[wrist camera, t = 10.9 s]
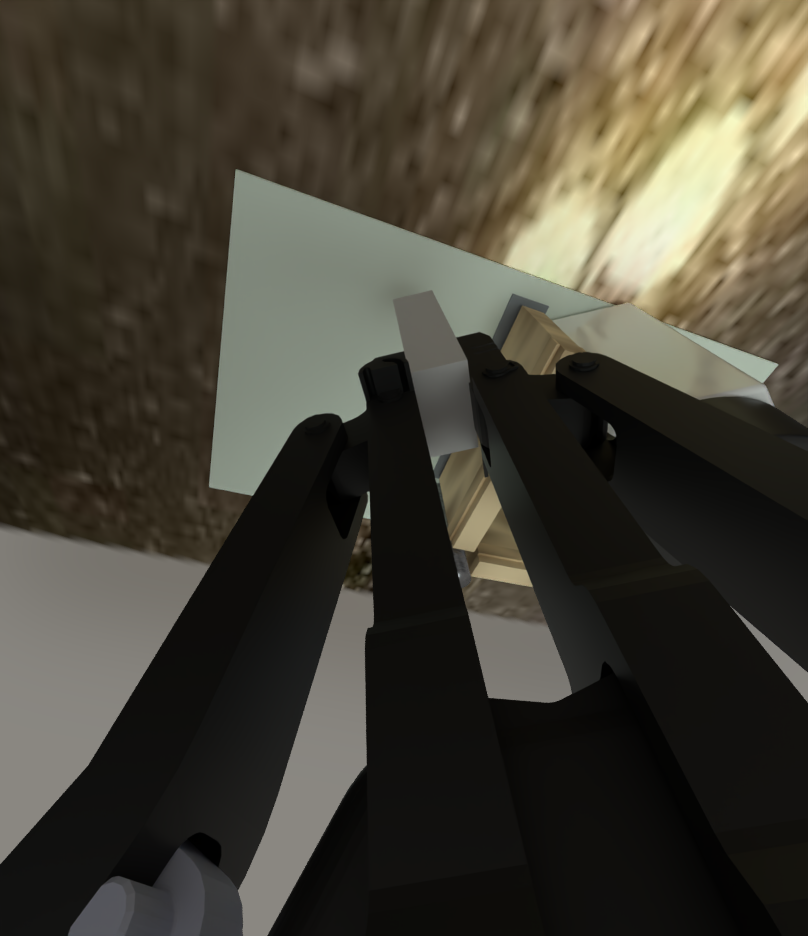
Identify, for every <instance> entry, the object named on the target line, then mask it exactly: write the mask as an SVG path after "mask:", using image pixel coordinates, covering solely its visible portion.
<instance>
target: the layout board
mask: <svg viewBox="0 0 808 936" xmlns="http://www.w3.org/2000/svg"><path fill="white" fill-rule="evenodd" d="M430 290H432V291H433V293H434V295H435V297H436V299H437V301H438V303H439V305H440V307H441V309H442V311H443V313H444V315H445V317H446V319H447V321H448V323H449V325H450V327H451V329H452V331H453V332H454V334H455V336H456V337H460V336H464V335H469V334H473V333H477V332H481V333H484V334H486V335H489V336H490V337H491V338H492V340H493V341H494V343H495V344H496V346H497V347H498V349H499V350H500V351H501V349H502V347H503V345H504V343H505V341H506V339H507V336H508V334H509V332H510V330H511V328H512V326H513V324H514V322H515V320H516V318H517V316H518V314H519V311H520V309H521V307H522V305H523V306H526V307H528V308H531V309H534V310H537V311H540V312H542V313H544V314H545V315H547V316H548V317H549V318H550V319H551V320H556V319H560V318H564V317H569V316H573V315H577V314H581V313H586V312H590V311H594V310H599V309H603V308H607V307H612V306H616V305H614V304H611V303H608V302H605V301H602V300H600V299H597V298H594V297H591V296H589V295H586V294H583V293H580V292H577V291H575V290H572V289H569V288H566V287H564V286H561V285H558V284H555V283H552V282H550V281H547V280H544V279H541V278H539V277H536V276H533V275H530V274H527V273H525V272H522V271H519V270H516V269H514V268H511V267H508V266H505V265H502V264H500V263H497V262H494V261H491V260H489V259H486V258H483V257H480V256H477V255H475V254H472V253H469V252H466V251H464V250H461V249H458V248H455V247H452V246H450V245H447V244H444V243H441V242H439V241H436V240H433V239H430V238H427V237H425V236H422V235H419V234H416V233H414V232H411V231H408V230H405V229H402V228H400V227H397V226H394V225H391V224H388V223H386V222H383V221H380V220H377V219H375V218H372V217H369V216H366V215H363V214H361V213H358V212H355V211H352V210H350V209H347V208H344V207H341V206H338V205H336V204H333V203H330V202H327V201H325V200H322V199H319V198H316V197H313V196H311V195H308V194H305V193H302V192H300V191H297V190H294V189H291V188H288V187H286V186H283V185H280V184H277V183H275V182H272V181H269V180H266V179H263V178H261V177H258V176H255V175H252V174H250V173H247V172H244V171H241V170H238V169H236V172H235V184H234V196H233V207H232V219H231V231H230V243H229V255H228V267H227V279H226V291H225V302H224V314H223V326H222V338H221V350H220V362H219V374H218V386H217V397H216V409H215V421H214V433H213V445H212V457H211V469H210V481H209V487H211V488H216V489H221V490H226V491H231V492H236V493H241V494H246V495H251V496H253V495H254V493H255V491H256V490H257V488H258V487H259V485H260V483H261V482H262V480H263V478H264V477H265V475H266V473H267V472H268V470H269V469H270V467H271V465H272V464H273V462H274V460H275V459H276V457H277V455H278V454H279V452H280V451H281V449H282V447H283V446H284V444H285V442H286V441H287V439H288V437H289V436H290V434H291V432H292V431H293V429H294V428H295V427H296V426H297V425H298V424H299V423H300V422H302V421H304V420H305V419H306V418H308V417H310V416H311V417H312V415H316V414H323V413H333V414H336V415H339V416H340V418H341V419H342V422H343V423H344V422H347V421H349V420H352V419H354V418H356V417H358V416H359V415H361V414H362V413H364V412H365V411H366V399H365V396H364V393H363V389H362V386H361V383H360V379H359V376H358V372H359V370H360V368H361V367H363V366H364V365H365V364H367V363H369V362H371V361H373V360H374V358H377V357H381V356H385V355H389V354H394V353H398V352H402V351H404V349H403V344H402V340H401V335H400V331H399V326H398V321H397V317H396V312H395V308H394V303H393V299H397V298H401V297H405V296H409V295H413V294H417V293H421V292H425V291H430ZM663 323H664V322H663ZM664 324H666V323H664ZM666 325H668V326H669V327H671V328H672V329H674V330H676V331H677V332H679V333H681V334H682V335H684V336H686V337H687V338H689V339H691V340H692V341H694V342H695V343H697V344H699V345H700V346H702V347H704V348H705V349H707V350H709V351H710V352H712V353H714V354H715V355H717V356H718V357H720V358H722V359H723V360H725V361H727V362H728V363H730V364H732V365H733V366H735V367H737V368H738V369H740V370H741V371H743V372H745V373H746V374H748V375H750V376H751V377H753V378H755V379H756V380H758V381H760V382H761V383H763V382H764V381H765V380H766V379H767V377H768V376H769V375H770V374H771V373H772V372H773V370H774V369H775V368H776V367H777V366H778V364H777V363H775V362H772V361H769V360H766V359H764V358H761V357H758V356H755V355H753V354H750V353H747V352H744V351H741V350H739V349H736V348H733V347H730V346H728V345H725V344H722V343H719V342H716V341H714V340H711V339H708V338H705V337H703V336H700V335H697V334H694V333H691V332H689V331H686V330H683V329H680V328H678V327H675V326H672V325H669V324H666ZM450 455H451V453H450V454H445V455H441V456H436V457H432V458H431V462H432V466H433V470H434V474H435V479H436V483H440V481H439V478H440V476H441V474H442V472H443V470H444V468H445V466H446V463H447V461H448V459H449V457H450ZM367 494H368V503H367V506H366V509H365V513H364V516H363V518H368V519H370V492H367Z"/></svg>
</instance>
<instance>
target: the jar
mask: <svg viewBox="0 0 808 936" xmlns="http://www.w3.org/2000/svg"><path fill="white" fill-rule="evenodd" d="M552 321H553V322H554V323H555V324H556V325H557V326H558V327H559V328H560V329H561V330H562V331H563V332H564V333H565V334H566V335H567V336H568V337H570V338H571V339H572V340H573V341H574V342H575V343H576V344H577V345H578V346H579V347H582V348H583V349H584V350H585V351H586V352H590V353H599V354H602V355H606V356H608V357H610V358H612V359H615V360H617V361H619V362H621V363H623V364H625V365H627V366H629V367H631V368H633V369H636V370H638V371H640V372H642V373H644V374H646V375H648V376H650V377H652V378H655V379H657V380H659V381H661V382H663V383H665V384H667V385H669V386H671V387H673V388H676V389H678V390H680V391H682V392H684V393H686V394H688V395H690V396H692V397H695V398H697V399H699V400H701V401H703V402H705V403H707V404H709V405H711V406H713V407H716V408H718V409H720V410H722V411H724V412H726V413H728V414H730V415H732V416H735V417H737V418H739V419H741V420H743V421H745V422H747V423H749V424H751V425H753V426H756V427H758V428H760V429H762V430H764V431H766V432H768V433H770V434H772V435H775V436H777V437H779V438H781V439H783V440H785V441H787V442H789V443H791V444H793V445H796V446H798V447H800V448H802V449H804V450H806V451H808V428H806V427H805V426H803V425H802V424H800V423H799V422H797V421H796V420H794V419H793V418H791V417H789V416H788V415H786V414H785V413H783V412H782V411H780V410H779V409H777V408H775V406H774V404H773V401H772V399H771V396H770V394H769V392H768V389H767V387H766V386H765V385H764V384H763V383H761V382H760V381H758V380H756V379H755V378H753V377H751V376H750V375H748V374H746V373H745V372H743V371H741V370H740V369H738V368H737V367H735V366H733V365H732V364H730V363H728V362H727V361H725V360H723V359H722V358H720V357H718V356H717V355H715V354H714V353H712V352H710V351H709V350H707V349H705V348H704V347H702V346H700V345H699V344H697V343H695V342H694V341H692V340H691V339H689V338H687V337H686V336H684V335H682V334H681V333H679V332H677V331H676V330H674V329H672V328H671V327H669V326H668V325H666V324H664V323H663V322H661V321H659V320H658V319H656V318H654V317H653V316H651V315H649V314H648V313H646V312H645V311H643V310H641V309H640V308H638V307H636V306H635V305H633V304H631V303H625V304H620V305H616V306H612V307H607V308H603V309H599V310H594V311H590V312H586V313H581V314H577V315H573V316H569V317H564V318H560V319H556V320H552ZM607 432H608V433H609V434H611V435H612V436H614V437H616V434H615V431H614V429H613V428H612V426H611V425H610V424H609V423H608V431H607ZM645 534H646V533H645ZM646 535H647V534H646ZM647 536H648V538H649V539H650V541H651V542H652V543H653V545H654V546H655V547H656V549H657V550H658V551H659V553H660V554H661V556H662V557H663V558H664V559H665V560H666V561H667V562H668V563H669V564H671V565H672V566H678V565H682V564H681V563H680V562H679V561H678V560H676V559H675V558H674V557H673V556H672V555H671V554H669V553H668V552H667V551H666V550H665V549H664V548H662V547H661V546H660V545H659V544H658V543H657V542H655V541H654V540H653V539H652V538H651V537H650V536H649V535H647Z"/></svg>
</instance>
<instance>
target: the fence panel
mask: <svg viewBox="0 0 808 936" xmlns="http://www.w3.org/2000/svg"><path fill="white" fill-rule="evenodd" d="M578 352H581V353H583V352H586V351H585V350H584V349H583V348H582V347H579V346H578V345H577V344H576V343H575V342H574V341H573V340H572V339H571V338H570V337H568V336H567V335H566V334H565V333H564V332H563V331H562V330H561V329H560V328H559V327H558V326H557V325H556V324H555V323H554V322H553V321H552V320H551V319H550V318H549V317H548V316H547V315H545V314H544V313H542V312H540V311H537V310H534V309H531V308H528V307H526V306H523V305H522V307H521V309H520V311H519V314H518V316H517V318H516V320H515V322H514V324H513V326H512V328H511V330H510V332H509V334H508V336H507V339H506V341H505V343H504V345H503V347H502V349H501V353H502V354H503V356H504V357H505V359H506V360H512V361H515V362H518V363H519V364H521V365H522V366H523V368H524V369H525V370H526V372H527V373H528V374H530V375H545V374H556V363H557V362H558V361H559V360H560V359H562V358H564V357H566V356H568V355H572V354H575V353H578ZM477 439H478V446H479V447H477V448H472V449H468V450H463V451H459V452H454V453H451V455H450V457H449V459H448V461H447V463H446V466H445V468H444V470H443V472H442V474H441V476H440V478H439V481H440V486H441V491H442V496H443V501H444V506H445V511H446V516H447V521H448V528H447V529H448V534H449V538H450V541H452V546H453V548H456V549H461V550H466V551H471V552H474V551H475V550H476V548H477V546H478V545H479V543H480V541H481V540H482V538H483V537H484V535H485V533H486V532H487V530H488V528H489V527H490V525H491V523H492V522H493V520H494V519H495V517H496V515H497V514H498V512H499V510H500V509H501V504H500V502H499V499H498V496H497V494H496V491H495V489H494V486H493V484H492V481H491V479H490V476H489V473H488V477H486V478H485V477H484V469H483V461H482V453H481V445H480V440H479V438H478V435H477Z"/></svg>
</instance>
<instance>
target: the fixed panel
mask: <svg viewBox="0 0 808 936" xmlns="http://www.w3.org/2000/svg"><path fill="white" fill-rule="evenodd" d="M465 553H466V557H467V562H468V567H469V571H470V575H471V576H473V577H479V578H485V579H490V580H496V581H502V582H507V583H513V584H518V585H524V586H530V587H533V586H532V583H531V581H530V578H529V576H528V573H527V571H526V568H525V565H524V563H523V560H522V558H521V555H520V553H519V550H518V548H517V545H516V542H515V540H514V537H513V535H512V532H511V530H510V527H509V525H508V522H507V519H506V517H505V514H504V512H503V509H502V507H501V509H500V510H499V512H498V514H497V515H496V517H495V519H494V520H493V522H492V523H491V525H490V527H489V528H488V530H487V532H486V533H485V535H484V537H483V538H482V540H481V541H480V543H479V545H478V546H477V548H476V550H475V551H474V552H471V551H466V550H465Z"/></svg>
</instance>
